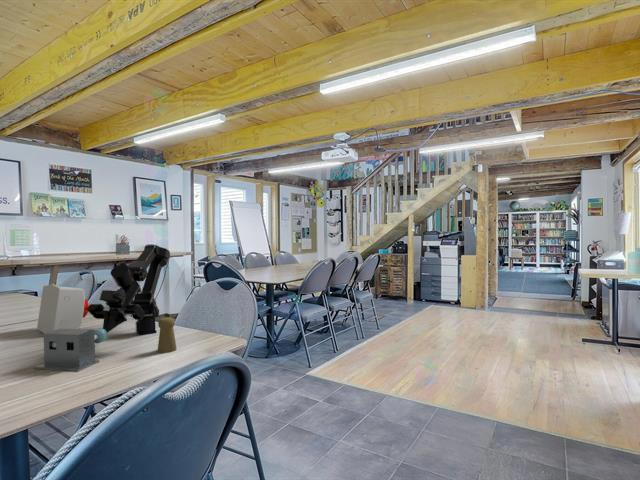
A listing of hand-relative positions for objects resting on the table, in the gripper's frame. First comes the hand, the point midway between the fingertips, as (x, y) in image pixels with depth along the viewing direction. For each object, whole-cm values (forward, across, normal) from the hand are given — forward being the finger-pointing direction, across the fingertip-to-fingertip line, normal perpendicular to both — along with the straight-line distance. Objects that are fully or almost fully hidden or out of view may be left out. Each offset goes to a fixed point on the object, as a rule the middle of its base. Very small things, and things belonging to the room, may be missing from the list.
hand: (103, 333), depth 124 cm
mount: (+12, -3, -2) cm, 13 cm away
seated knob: (+8, -6, -4) cm, 11 cm away
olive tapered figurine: (+1, +19, +9) cm, 21 cm away
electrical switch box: (-15, -40, +24) cm, 49 cm away
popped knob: (+5, 0, -2) cm, 5 cm away
